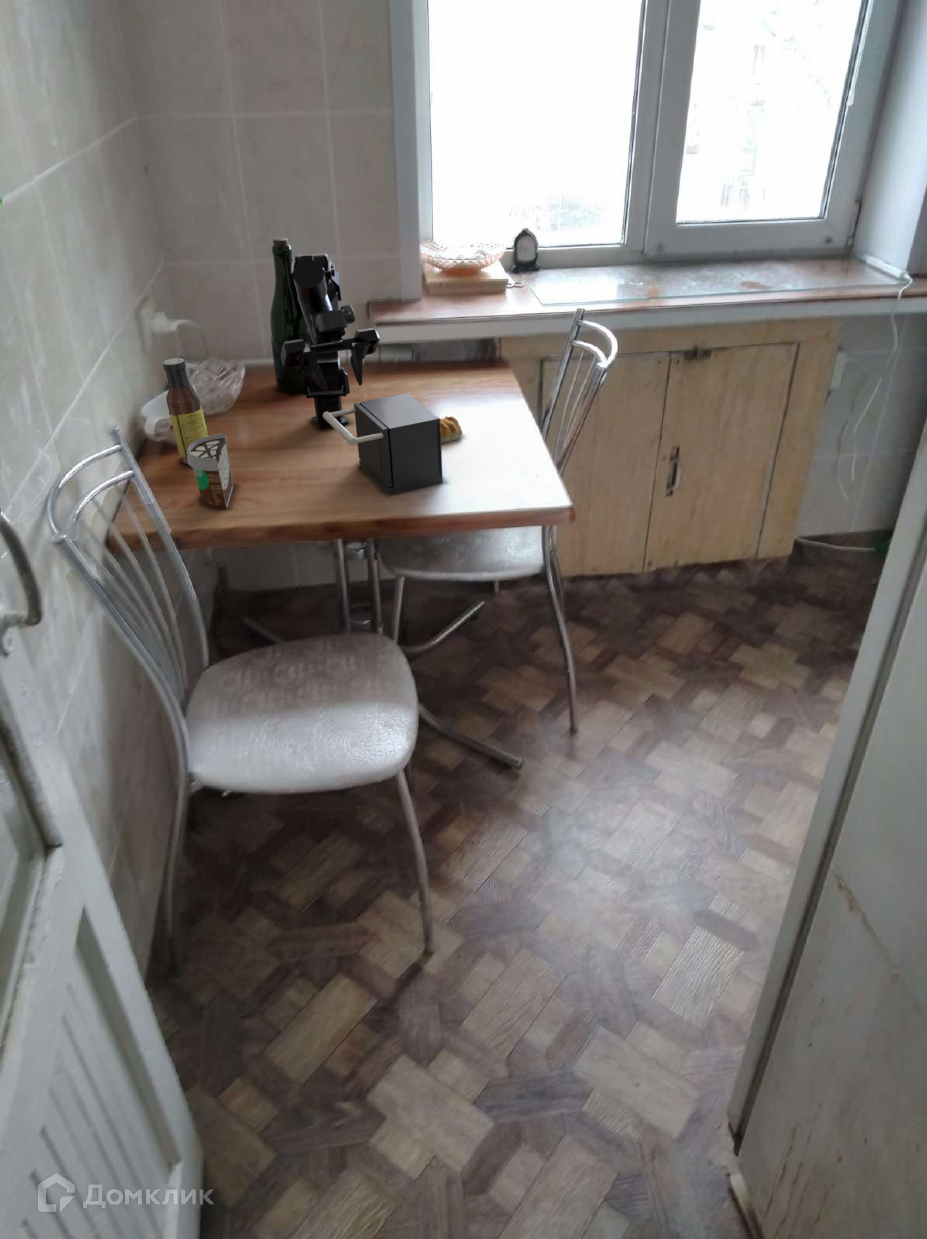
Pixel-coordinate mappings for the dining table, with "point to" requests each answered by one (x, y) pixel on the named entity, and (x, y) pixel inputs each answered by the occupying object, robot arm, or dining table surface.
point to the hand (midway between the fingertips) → (343, 387)
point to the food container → (212, 470)
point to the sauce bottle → (183, 407)
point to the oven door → (366, 440)
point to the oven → (408, 442)
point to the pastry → (449, 429)
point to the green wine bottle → (286, 317)
